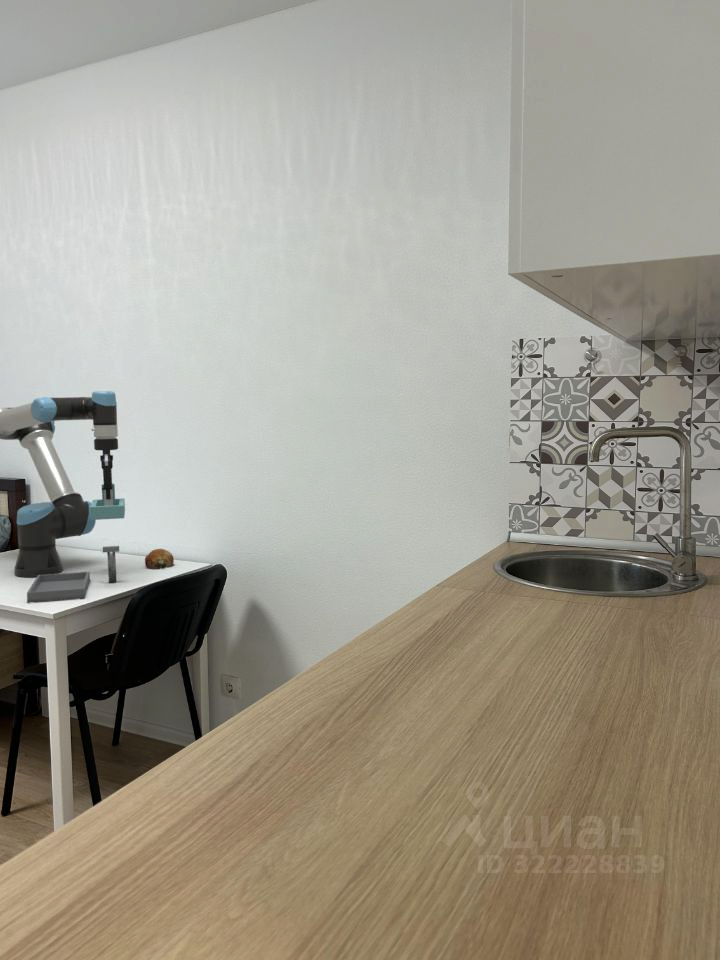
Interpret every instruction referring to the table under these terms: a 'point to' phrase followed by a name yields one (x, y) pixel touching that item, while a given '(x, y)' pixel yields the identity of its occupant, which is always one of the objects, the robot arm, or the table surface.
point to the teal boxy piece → (107, 508)
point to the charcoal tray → (59, 587)
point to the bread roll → (159, 559)
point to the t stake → (111, 562)
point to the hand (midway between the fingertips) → (109, 508)
